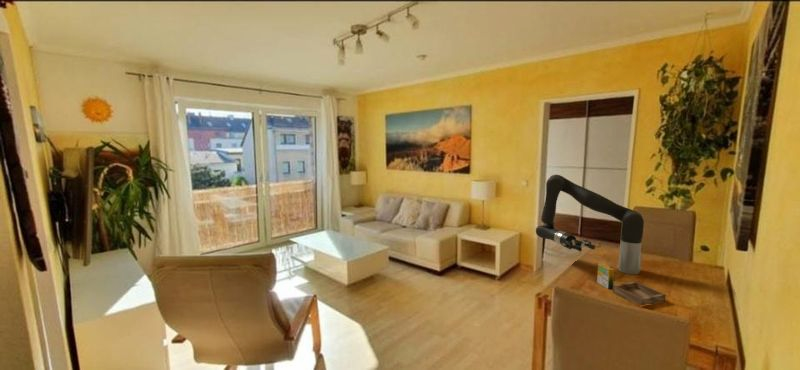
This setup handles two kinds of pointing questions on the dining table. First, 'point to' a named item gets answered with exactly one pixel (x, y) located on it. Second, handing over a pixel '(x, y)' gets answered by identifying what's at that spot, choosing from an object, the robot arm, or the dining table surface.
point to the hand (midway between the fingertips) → (587, 248)
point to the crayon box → (605, 275)
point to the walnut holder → (638, 293)
